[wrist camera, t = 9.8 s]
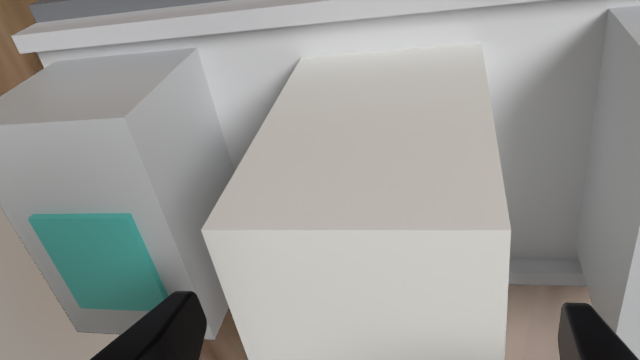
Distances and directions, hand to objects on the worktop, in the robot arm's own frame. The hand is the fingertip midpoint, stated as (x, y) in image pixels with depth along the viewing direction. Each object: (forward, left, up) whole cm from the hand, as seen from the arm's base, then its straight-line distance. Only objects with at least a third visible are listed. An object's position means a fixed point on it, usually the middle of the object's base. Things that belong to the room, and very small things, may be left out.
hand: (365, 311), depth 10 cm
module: (+7, 0, -6) cm, 9 cm away
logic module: (0, 0, -6) cm, 6 cm away
